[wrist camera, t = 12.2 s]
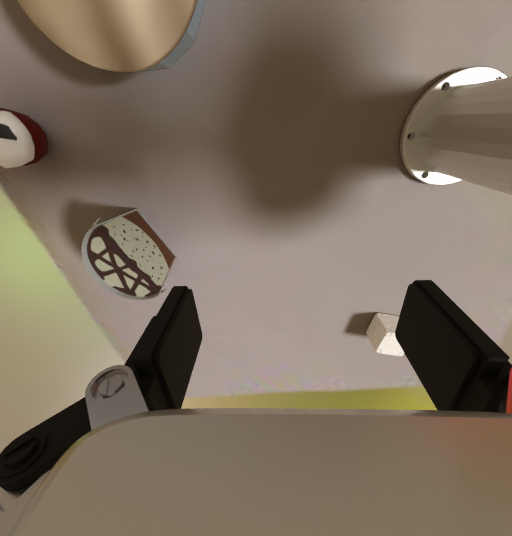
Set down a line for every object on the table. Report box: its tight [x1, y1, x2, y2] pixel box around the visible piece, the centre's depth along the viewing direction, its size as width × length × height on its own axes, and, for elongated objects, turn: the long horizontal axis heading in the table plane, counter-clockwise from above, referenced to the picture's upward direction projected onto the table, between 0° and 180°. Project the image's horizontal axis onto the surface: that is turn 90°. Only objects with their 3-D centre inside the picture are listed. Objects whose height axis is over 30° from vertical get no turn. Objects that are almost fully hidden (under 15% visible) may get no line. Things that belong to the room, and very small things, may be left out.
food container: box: [82, 209, 177, 300], centre depth 37 cm, size 12×6×10 cm, turn 31°
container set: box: [366, 313, 404, 356], centre depth 46 cm, size 20×5×6 cm, turn 80°
